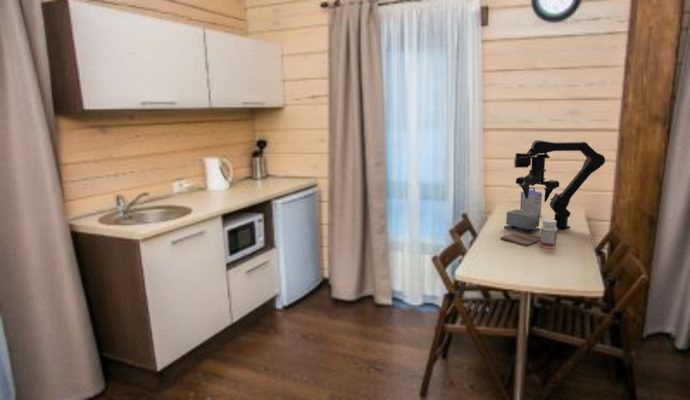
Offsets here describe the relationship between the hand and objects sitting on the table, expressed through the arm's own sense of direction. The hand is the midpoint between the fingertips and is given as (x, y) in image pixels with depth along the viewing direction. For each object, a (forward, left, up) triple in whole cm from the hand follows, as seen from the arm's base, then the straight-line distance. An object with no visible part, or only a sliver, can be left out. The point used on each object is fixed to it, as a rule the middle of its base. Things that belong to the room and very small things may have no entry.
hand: (535, 200), depth 218 cm
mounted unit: (+8, -1, -13) cm, 15 cm away
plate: (+22, +8, -13) cm, 27 cm away
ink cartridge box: (-18, -13, -13) cm, 26 cm away
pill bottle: (+22, +20, -13) cm, 33 cm away
